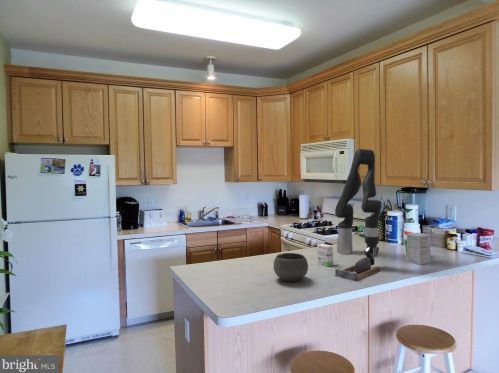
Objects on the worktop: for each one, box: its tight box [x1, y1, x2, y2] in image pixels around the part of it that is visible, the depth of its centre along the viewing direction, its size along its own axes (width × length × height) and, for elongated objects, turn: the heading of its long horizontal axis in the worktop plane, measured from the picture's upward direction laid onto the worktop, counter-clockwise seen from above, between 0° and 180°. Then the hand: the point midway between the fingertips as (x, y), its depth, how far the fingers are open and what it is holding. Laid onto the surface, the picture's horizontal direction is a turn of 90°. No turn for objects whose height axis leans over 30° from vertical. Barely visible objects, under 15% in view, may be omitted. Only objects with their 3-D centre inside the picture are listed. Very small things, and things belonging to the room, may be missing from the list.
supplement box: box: [406, 232, 432, 266], centre depth 203 cm, size 10×9×17 cm
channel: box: [334, 265, 381, 282], centre depth 185 cm, size 12×25×4 cm, turn 131°
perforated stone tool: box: [353, 256, 372, 274], centre depth 188 cm, size 15×5×7 cm, turn 128°
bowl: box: [273, 252, 309, 282], centre depth 178 cm, size 18×18×13 cm
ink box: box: [316, 243, 334, 267], centre depth 203 cm, size 9×5×12 cm, turn 34°
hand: (372, 264), depth 195 cm, fingers closed
